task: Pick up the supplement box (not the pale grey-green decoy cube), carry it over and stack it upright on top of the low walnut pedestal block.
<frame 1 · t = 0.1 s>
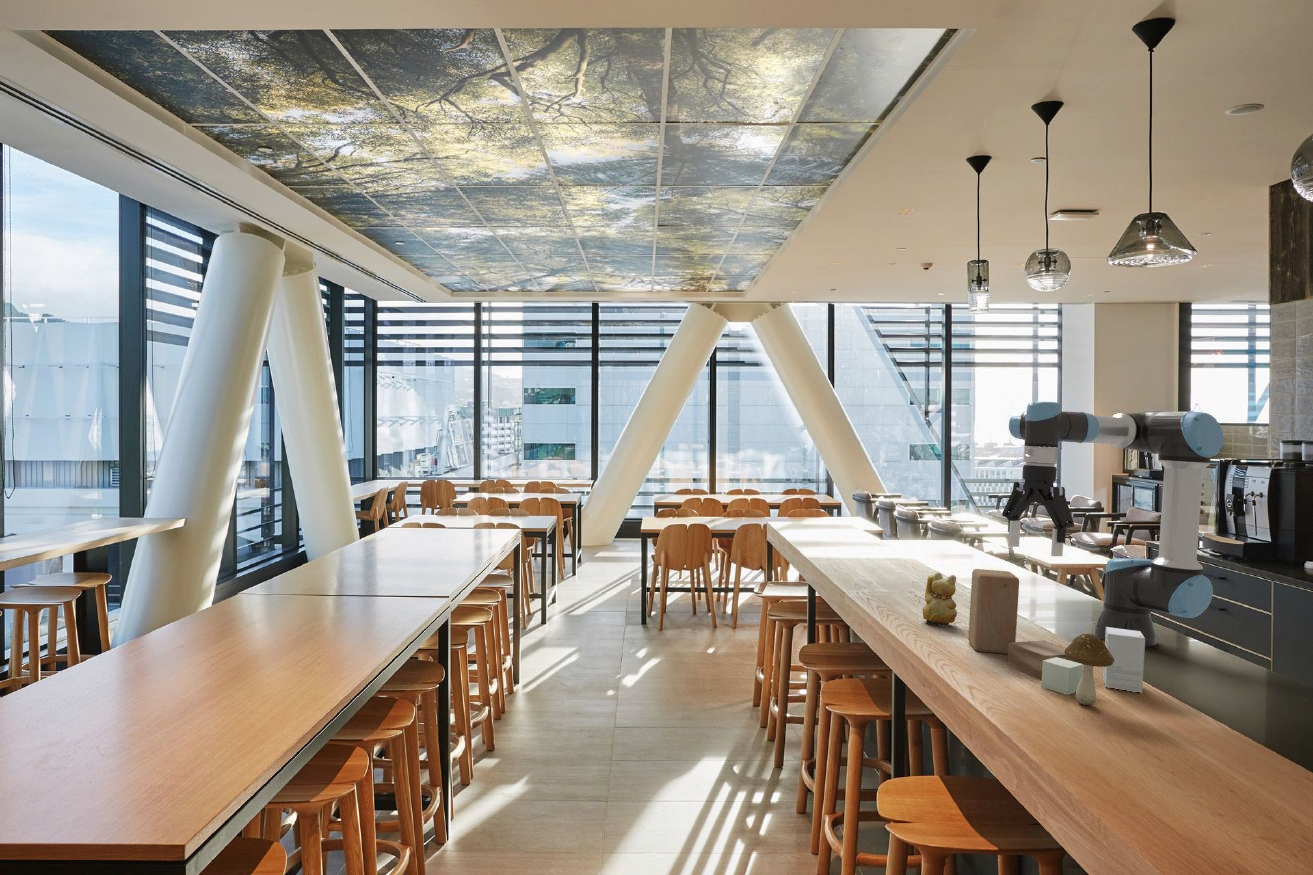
hand: (1034, 551, 198), 28 cm above the table, fingers open, 13 cm apart
wooden block: (990, 649, 212), on the table
decoy cube: (1061, 688, 181), on the table
mushroom: (1085, 706, 170), on the table
decorative figurine: (938, 625, 235), on the table
base block: (1042, 672, 193), on the table
supplement box: (1121, 687, 184), on the table
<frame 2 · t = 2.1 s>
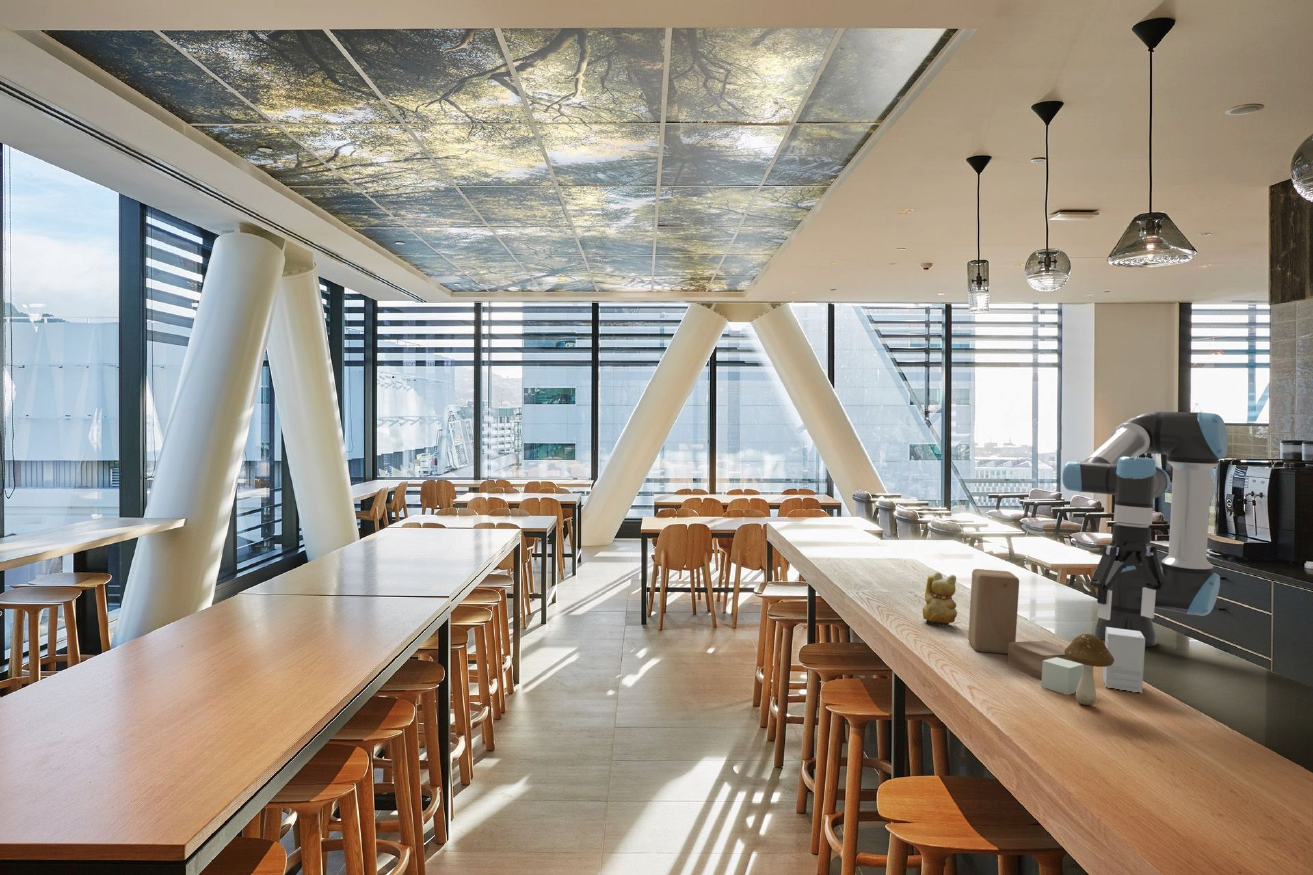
hand: (1125, 617, 184), 16 cm above the table, fingers open, 13 cm apart
nothing on the table moved.
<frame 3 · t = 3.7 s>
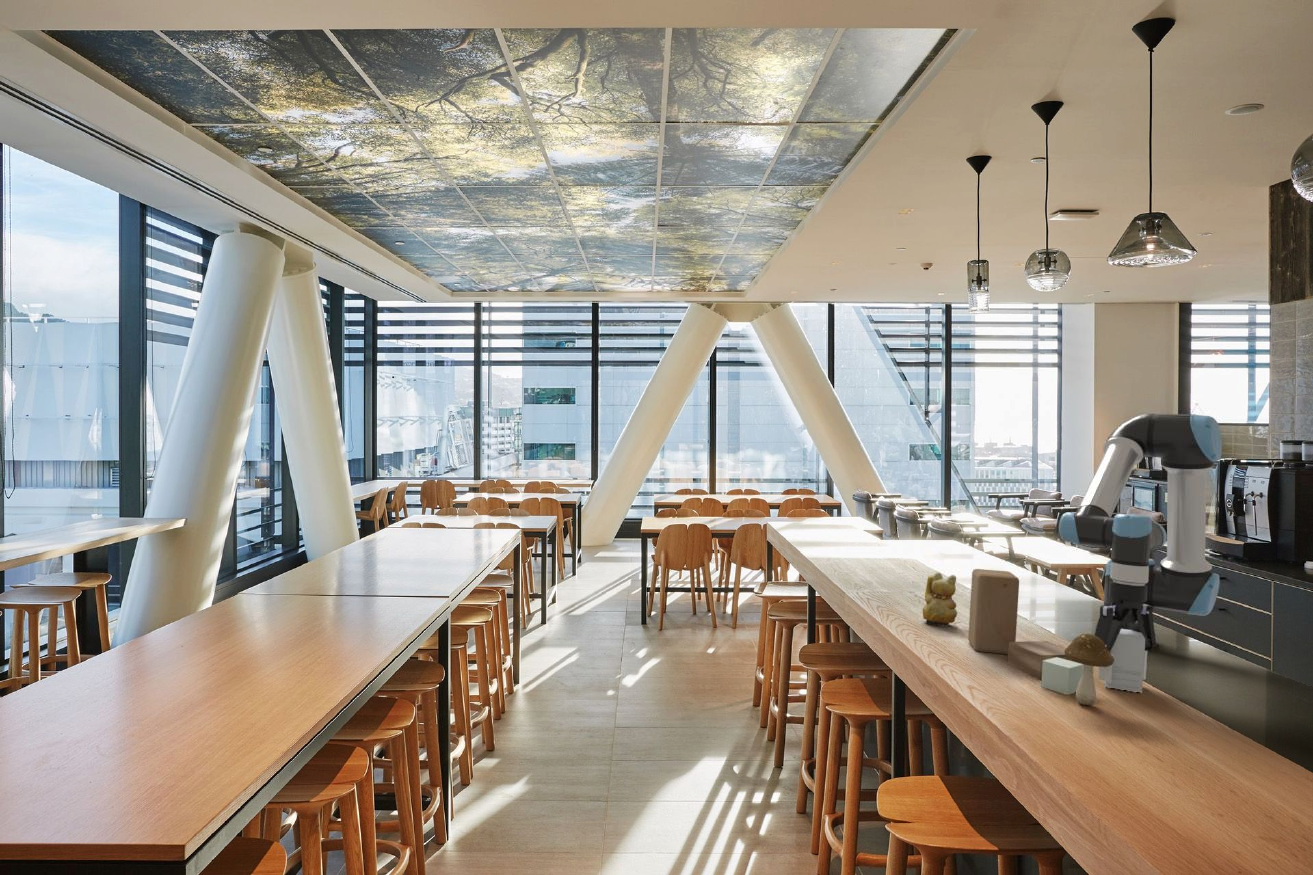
hand: (1122, 678, 184), 2 cm above the table, fingers closed on supplement box, 10 cm apart
supplement box: (1121, 687, 184), on the table, touching gripper
everything else where it was.
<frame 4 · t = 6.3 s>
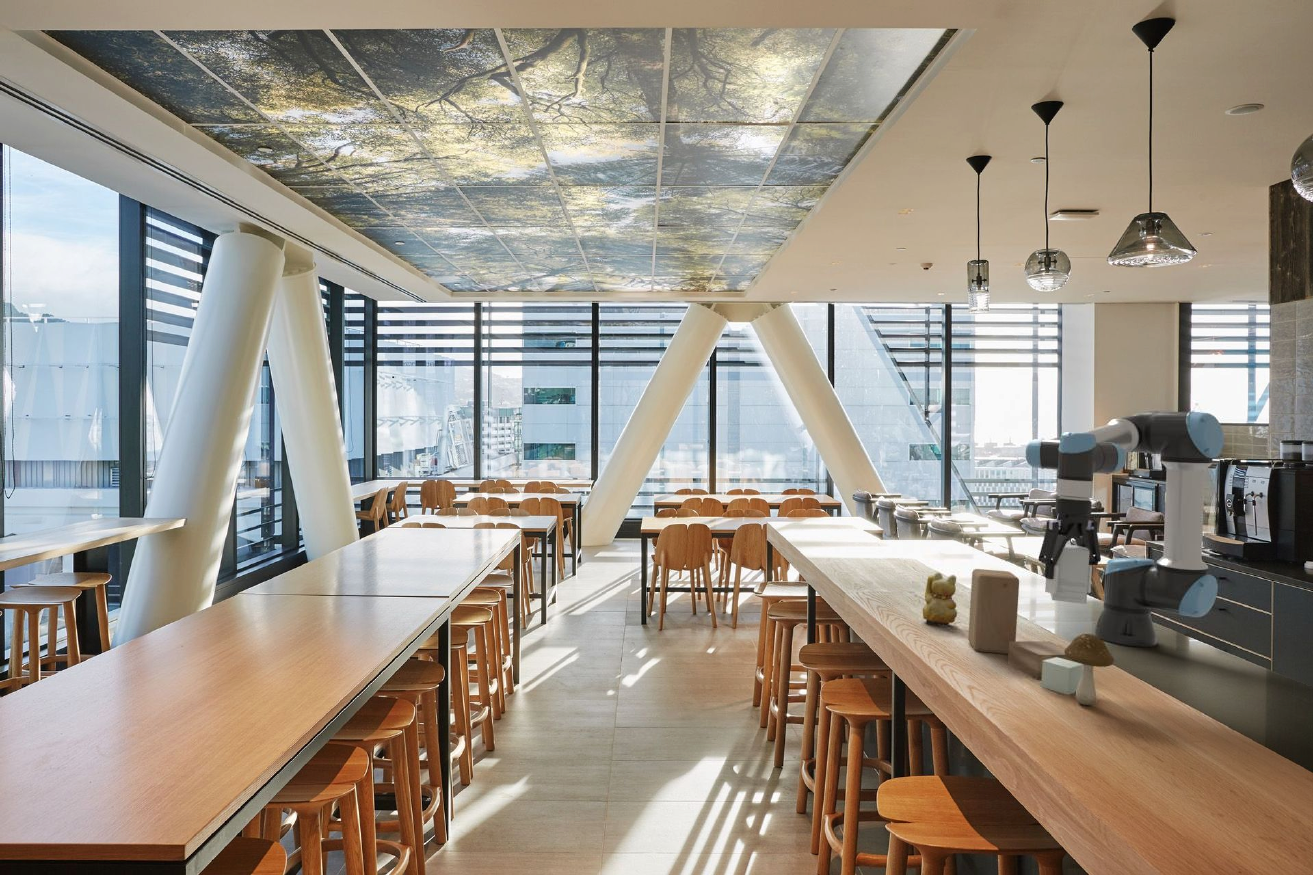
hand: (1067, 592, 190), 20 cm above the table, fingers closed on supplement box, 10 cm apart
supplement box: (1067, 600, 190), point 18 cm above the table, touching gripper
everything else where it was.
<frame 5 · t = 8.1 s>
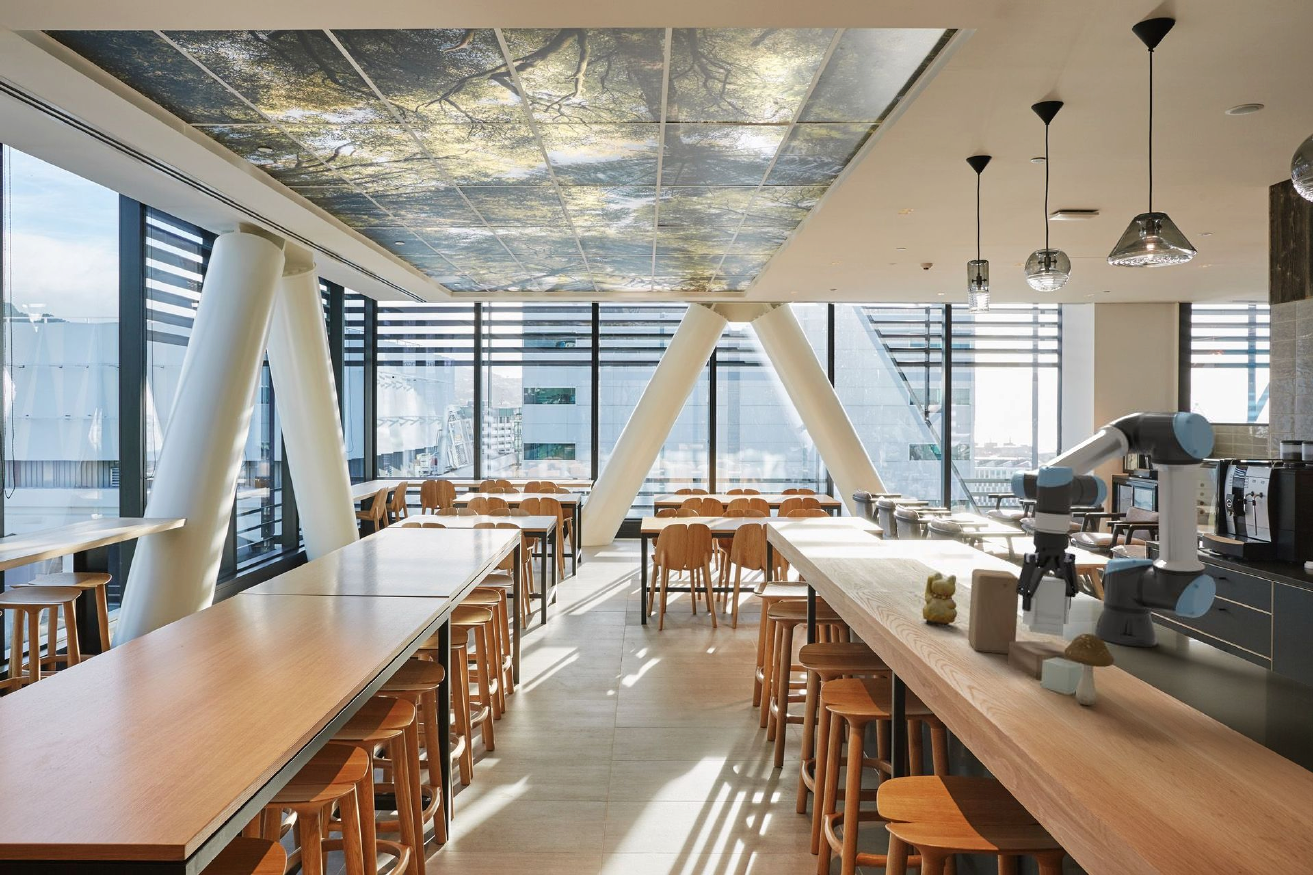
hand: (1045, 623, 193), 12 cm above the table, fingers closed on supplement box, 10 cm apart
supplement box: (1045, 631, 193), point 10 cm above the table, touching gripper
everything else where it was.
when the fingers open (9 cm above the table, at t = 9.1 s): supplement box drops 2 cm, point 5 cm above the table.
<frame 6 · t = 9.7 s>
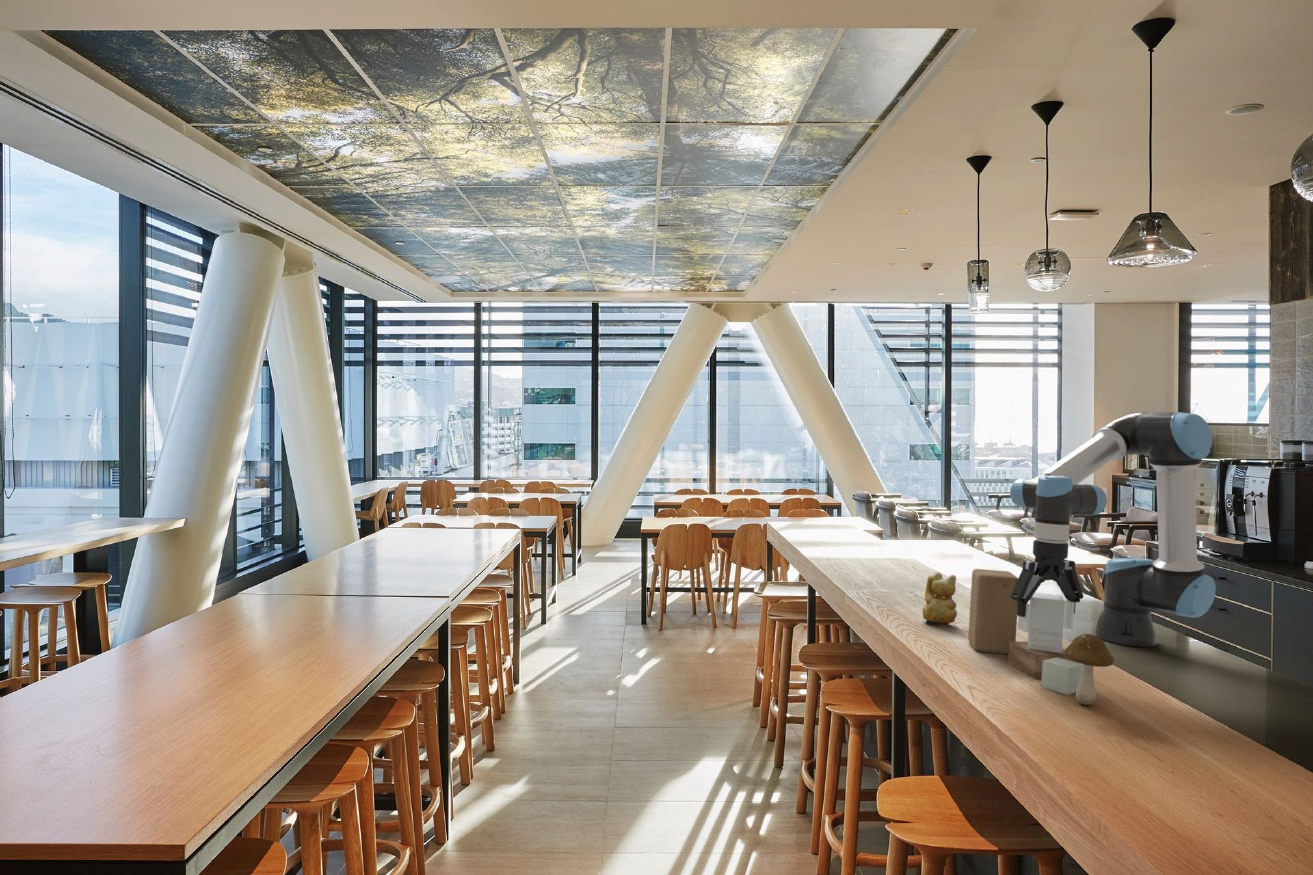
hand: (1045, 629, 193), 10 cm above the table, fingers open, 13 cm apart
supplement box: (1044, 648, 193), point 5 cm above the table
everything else where it was.
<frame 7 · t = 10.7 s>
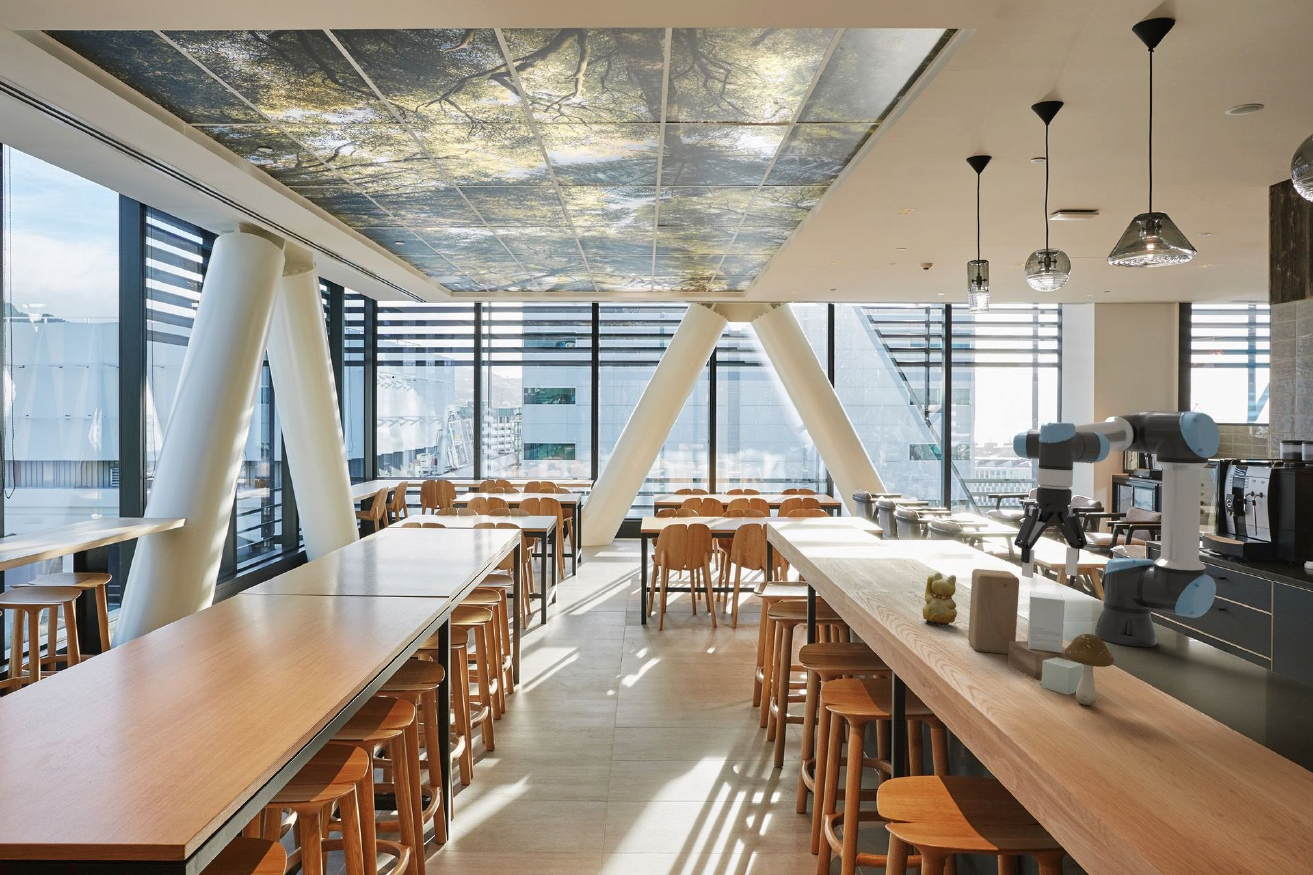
hand: (1049, 575, 193), 23 cm above the table, fingers open, 13 cm apart
base block: (1042, 672, 193), on the table, touching supplement box
supplement box: (1044, 648, 193), point 6 cm above the table, touching base block
everything else where it was.
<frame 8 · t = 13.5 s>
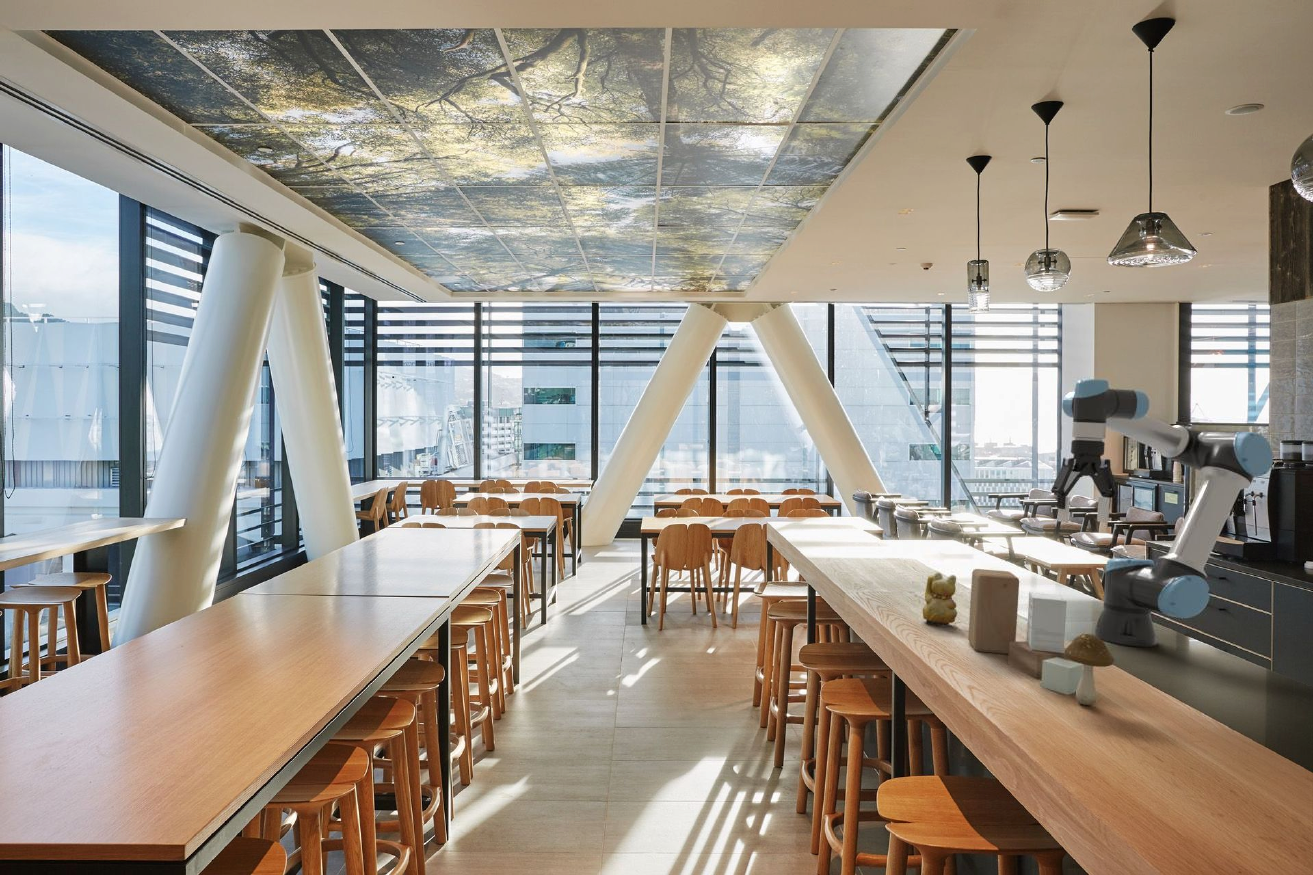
hand: (1082, 522, 208), 35 cm above the table, fingers open, 13 cm apart
nothing on the table moved.
at the end: supplement box inside the target area on the base block (0.3 cm from its centre), point 5.8 cm above the base block's base; supplement box tilted 1°; the gripper is holding nothing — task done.
